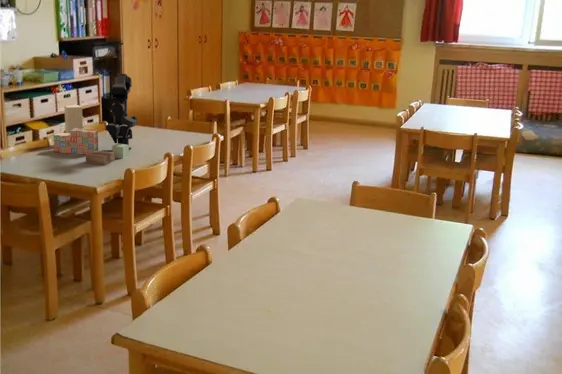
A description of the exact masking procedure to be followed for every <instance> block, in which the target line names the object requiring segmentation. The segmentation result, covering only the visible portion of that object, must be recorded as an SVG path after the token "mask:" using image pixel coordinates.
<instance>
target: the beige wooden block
mask: <svg viewBox="0 0 562 374" xmlns="http://www.w3.org/2000/svg"><path fill="white" fill-rule="evenodd" d="M63 107H64V124H65V125H64V129H65V133H69V134H71V133H70V131H71V130H73V129H74V128H78V129H84V126H83V123H84V122H83V107H82V106H81V105H79V104H76V105H64V106H63Z"/></svg>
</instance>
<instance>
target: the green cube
mask: <svg viewBox="0 0 562 374" xmlns="http://www.w3.org/2000/svg"><path fill="white" fill-rule="evenodd" d="M129 147H130V144H129V145H126V144H118V143H115V144H114V145H111V149H112V151H111V152H114V154H115V159H125V158H127V157H129V156H130V155H129V154H130V152H129V151H130V149H129Z"/></svg>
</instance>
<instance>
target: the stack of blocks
mask: <svg viewBox="0 0 562 374" xmlns="http://www.w3.org/2000/svg"><path fill="white" fill-rule="evenodd" d="M98 131H99V130H98V129H91V128H83V129H78V128H74V129H73V130H71V131H70V133H71V134H69V133H66V132H57V133H55V134H53V145H54V146H53V148H54V153H62V154H75V155H76V154H77V155H79V154H80V155H87V154H89V153H92V152H94V151H96V150H97V151H99V135H98V133H99V132H98Z"/></svg>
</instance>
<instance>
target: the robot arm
mask: <svg viewBox="0 0 562 374" xmlns="http://www.w3.org/2000/svg"><path fill="white" fill-rule="evenodd" d="M132 82H133V81H132V78H131V77H130V76H128V74H126V73H117V75H116V76H115V78H114V84H113V85H112V88H110V96H109V97H110V101H111V102H112V103H113V104H112V105H111V112H112V113H111V116H113V121H112V122H111V123H108V124H106V125H105V131H107V132H108V134H109V136H110V137H111V138H112V140H113V143H114V144H126V145H129V150H132V147H130V140H131V139H133V130H132V128H133V127H134V128H135V127H136V124H137V123H138V119H137V118H138V117H137V116H135V115H133V116H128V115H129V114H128V99H129V94H130V93H131V88H132V86H133V83H132Z"/></svg>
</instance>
